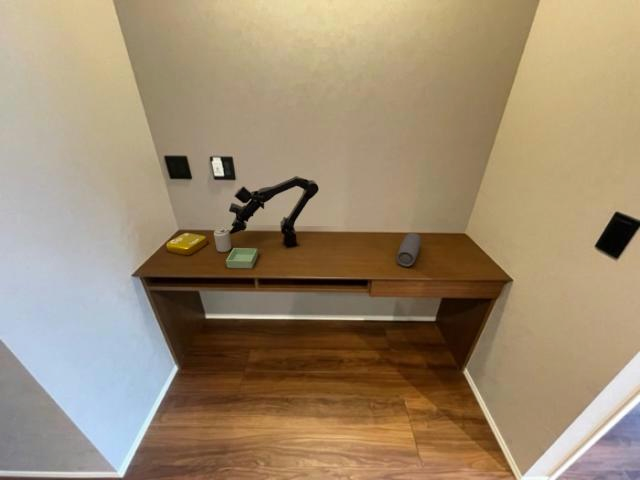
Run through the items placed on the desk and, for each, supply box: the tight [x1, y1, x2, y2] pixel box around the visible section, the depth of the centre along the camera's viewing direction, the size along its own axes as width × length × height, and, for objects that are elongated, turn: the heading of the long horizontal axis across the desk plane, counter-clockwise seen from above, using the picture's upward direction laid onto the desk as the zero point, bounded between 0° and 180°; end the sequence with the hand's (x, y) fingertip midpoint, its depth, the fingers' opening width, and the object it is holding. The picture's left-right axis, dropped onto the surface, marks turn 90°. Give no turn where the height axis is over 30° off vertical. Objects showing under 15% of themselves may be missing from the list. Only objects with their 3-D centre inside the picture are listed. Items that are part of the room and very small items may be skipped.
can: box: [213, 227, 232, 253], centre depth 139 cm, size 8×8×12 cm
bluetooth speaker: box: [396, 232, 422, 267], centre depth 135 cm, size 23×9×10 cm, turn 154°
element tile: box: [166, 232, 208, 256], centre depth 143 cm, size 15×15×5 cm
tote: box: [225, 247, 259, 269], centre depth 131 cm, size 12×12×4 cm
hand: (231, 229), depth 137 cm, fingers open, 9 cm apart
